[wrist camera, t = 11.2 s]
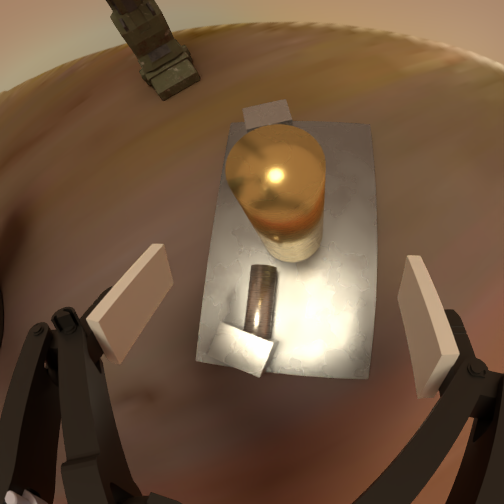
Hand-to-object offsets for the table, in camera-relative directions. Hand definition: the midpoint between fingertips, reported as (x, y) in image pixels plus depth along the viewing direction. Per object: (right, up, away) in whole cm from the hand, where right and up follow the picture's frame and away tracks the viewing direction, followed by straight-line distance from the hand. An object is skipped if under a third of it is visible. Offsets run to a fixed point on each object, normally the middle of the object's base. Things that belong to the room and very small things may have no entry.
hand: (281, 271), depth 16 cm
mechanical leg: (-12, +25, +20) cm, 34 cm away
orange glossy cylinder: (+2, +3, +9) cm, 10 cm away
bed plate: (+2, +2, +10) cm, 11 cm away
